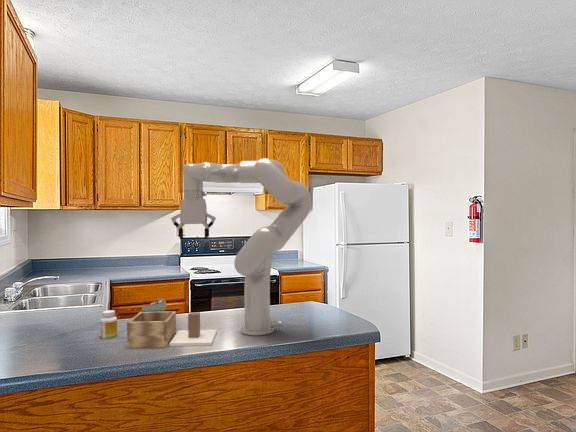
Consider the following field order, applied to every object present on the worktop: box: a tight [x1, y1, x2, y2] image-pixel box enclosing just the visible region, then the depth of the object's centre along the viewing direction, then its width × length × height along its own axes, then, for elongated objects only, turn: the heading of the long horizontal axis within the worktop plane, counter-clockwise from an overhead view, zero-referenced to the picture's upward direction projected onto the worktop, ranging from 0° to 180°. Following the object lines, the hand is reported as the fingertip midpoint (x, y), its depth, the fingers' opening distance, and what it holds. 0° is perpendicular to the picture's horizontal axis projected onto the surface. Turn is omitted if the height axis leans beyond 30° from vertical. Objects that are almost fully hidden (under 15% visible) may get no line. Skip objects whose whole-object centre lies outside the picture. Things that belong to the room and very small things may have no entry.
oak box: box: [126, 311, 177, 349], centre depth 150 cm, size 13×14×9 cm
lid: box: [168, 311, 218, 347], centre depth 152 cm, size 14×15×9 cm
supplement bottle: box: [100, 309, 118, 340], centre depth 155 cm, size 5×5×10 cm
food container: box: [141, 298, 168, 312], centre depth 169 cm, size 12×6×10 cm, turn 168°
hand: (193, 238), depth 171 cm, fingers open, 9 cm apart
